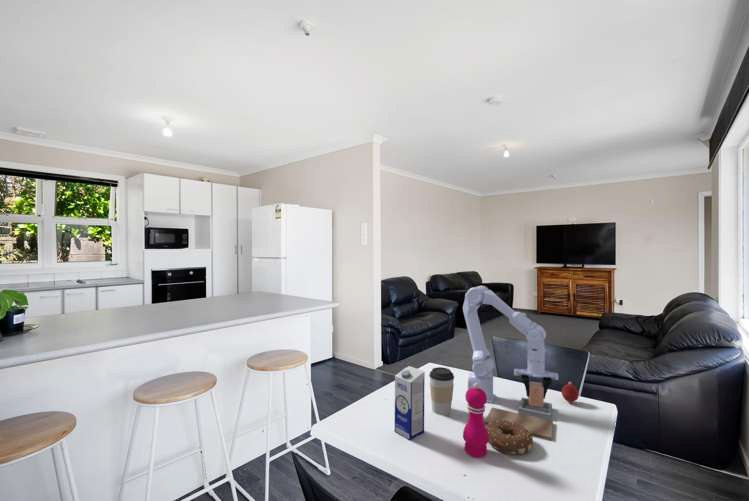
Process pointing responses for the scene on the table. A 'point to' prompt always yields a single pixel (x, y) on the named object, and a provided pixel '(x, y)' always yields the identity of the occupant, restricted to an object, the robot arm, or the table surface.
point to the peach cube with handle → (536, 394)
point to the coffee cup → (441, 390)
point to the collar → (533, 412)
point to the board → (523, 422)
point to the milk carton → (409, 402)
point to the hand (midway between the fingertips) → (535, 396)
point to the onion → (570, 393)
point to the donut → (509, 437)
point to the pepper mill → (475, 423)
